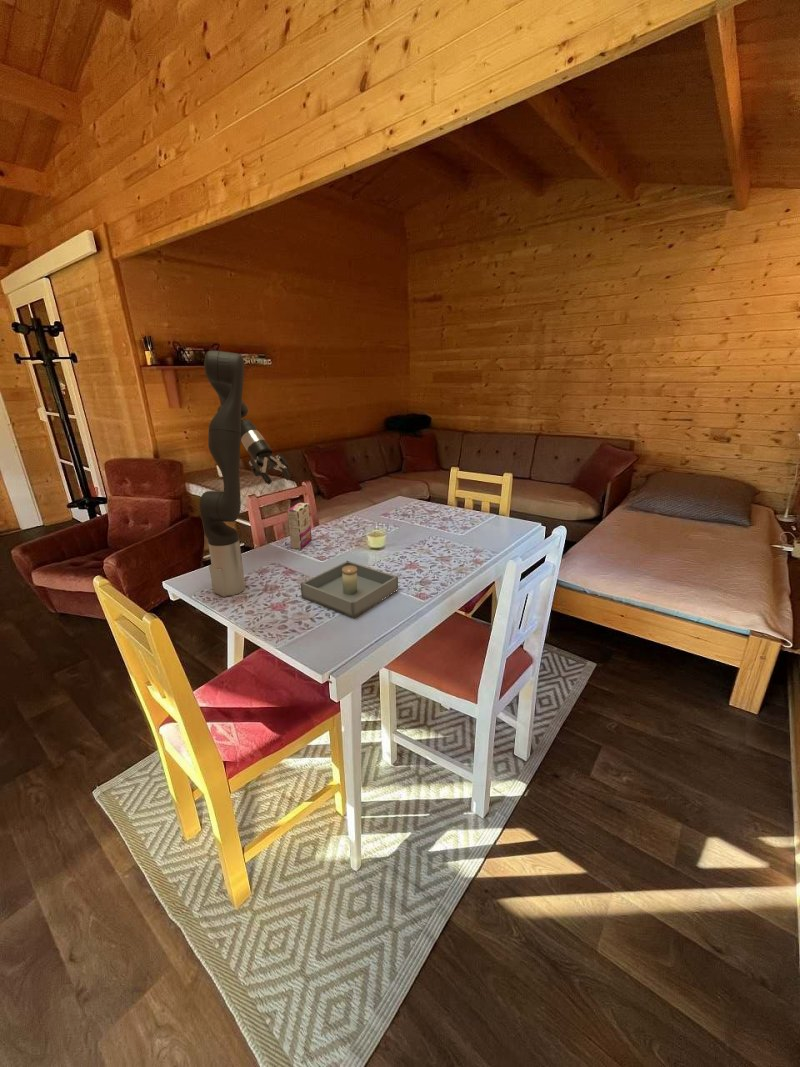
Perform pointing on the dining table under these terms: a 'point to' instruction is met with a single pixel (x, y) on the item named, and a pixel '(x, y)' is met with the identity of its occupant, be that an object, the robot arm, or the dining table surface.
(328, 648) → the dining table surface
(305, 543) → the candy bar box
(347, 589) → the lidded yellow jar
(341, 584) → the bin
